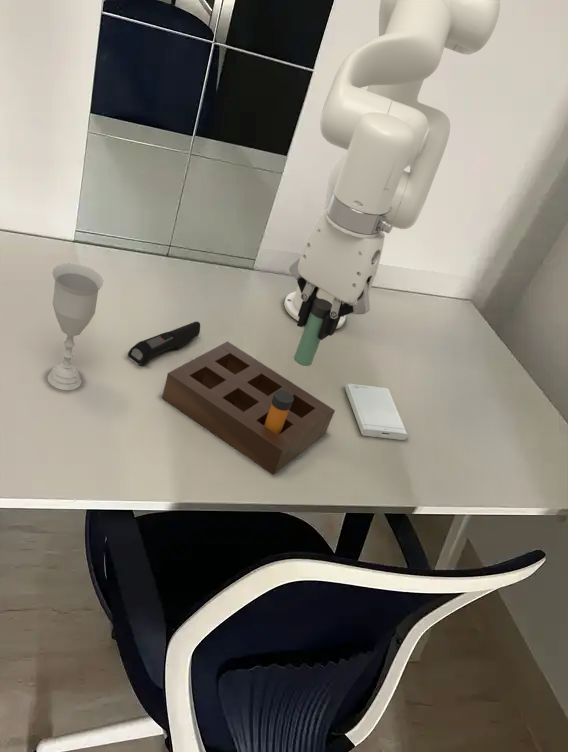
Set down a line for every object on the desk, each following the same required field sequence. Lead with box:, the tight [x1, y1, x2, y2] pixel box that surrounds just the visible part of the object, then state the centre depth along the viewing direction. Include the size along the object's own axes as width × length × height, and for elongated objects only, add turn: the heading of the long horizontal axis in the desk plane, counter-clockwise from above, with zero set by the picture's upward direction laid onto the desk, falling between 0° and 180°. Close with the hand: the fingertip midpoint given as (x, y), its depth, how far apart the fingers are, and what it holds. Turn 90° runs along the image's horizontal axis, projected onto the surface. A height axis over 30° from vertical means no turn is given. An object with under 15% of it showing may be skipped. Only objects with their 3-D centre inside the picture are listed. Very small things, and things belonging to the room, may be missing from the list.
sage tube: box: [293, 299, 332, 367], centre depth 116 cm, size 3×3×10 cm
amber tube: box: [264, 390, 294, 435], centre depth 120 cm, size 3×3×10 cm
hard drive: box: [344, 383, 409, 441], centre depth 137 cm, size 2×8×12 cm
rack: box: [161, 340, 336, 475], centre depth 126 cm, size 16×22×5 cm
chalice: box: [47, 262, 104, 391], centre depth 116 cm, size 7×7×18 cm
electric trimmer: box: [127, 321, 201, 366], centre depth 134 cm, size 4×16×3 cm, turn 142°
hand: (314, 329), depth 116 cm, fingers closed on sage tube, 3 cm apart
